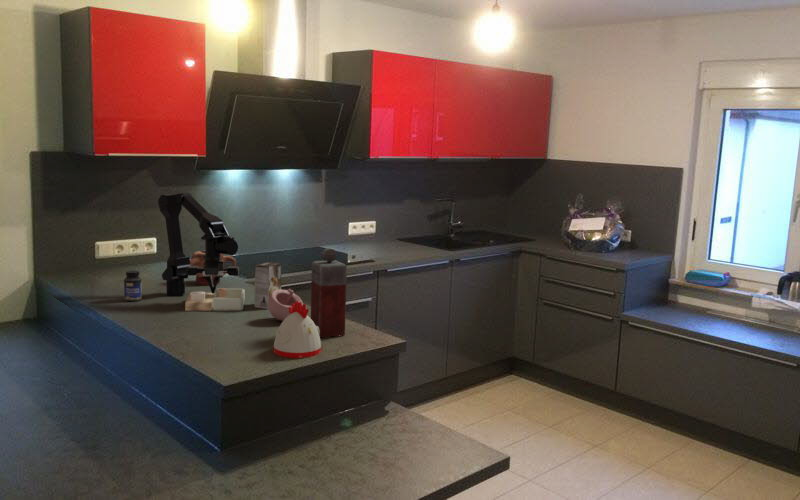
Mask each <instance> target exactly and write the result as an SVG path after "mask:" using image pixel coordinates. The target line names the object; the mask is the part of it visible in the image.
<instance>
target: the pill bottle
mask: <svg viewBox="0 0 800 500" xmlns="http://www.w3.org/2000/svg"><path fill="white" fill-rule="evenodd" d="M125 276H126V277H125V278H124V279H123V299H124V302H127V301H136V302H140V301H141V300H142V278H141V277H140V270H126V271H125ZM139 300H140V301H139Z"/></svg>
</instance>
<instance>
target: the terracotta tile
mask: <svg viewBox="0 0 800 500" xmlns="http://www.w3.org/2000/svg"><path fill="white" fill-rule="evenodd" d="M218 289H219V298H226V289H227V288H226V287H220V288H218Z"/></svg>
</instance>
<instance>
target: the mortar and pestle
mask: <svg viewBox="0 0 800 500" xmlns="http://www.w3.org/2000/svg"><path fill="white" fill-rule="evenodd" d="M295 301H298V304H299V302H301V303H302V305H303V304H304V303H303V300H302V299H301V298H300V296H299V295H297V294H296V293H295V292H294V290H293V289H291V288H288V289H282V288H281V289H277V290H274V291H273V292H272V293H271V294H270V296H269V299H268V309H267V310H268V312H269V314H270V315H271V317H273V318H274V319H276V320H277V321H281V322H283V321H284V319H285V318H286V317H288V316H289V315H290V312H289V307H292V304H295Z"/></svg>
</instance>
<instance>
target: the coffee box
mask: <svg viewBox="0 0 800 500" xmlns="http://www.w3.org/2000/svg"><path fill="white" fill-rule="evenodd" d="M277 289H282V263H281V262H272V261H266V262H262V263H258V264H255V265H254V308H258V309H264V310H269V309H268V299H269V296H270V294H271V293H272V292H273V291H274V290H277Z"/></svg>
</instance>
